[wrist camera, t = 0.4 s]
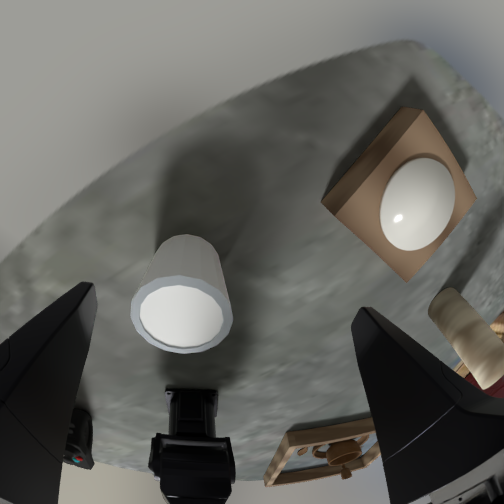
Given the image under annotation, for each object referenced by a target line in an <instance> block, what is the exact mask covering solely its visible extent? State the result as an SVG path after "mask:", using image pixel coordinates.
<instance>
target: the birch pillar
mask: <svg viewBox="0 0 504 504" xmlns="http://www.w3.org/2000/svg"><path fill="white" fill-rule="evenodd" d="M428 315H429V317H430V318H431V319H432V321H433V322H434V323H435V324H436V326H437V327H438V328H439V330H440V331H441V332H442V333H443V335H444V336H445V337H446V339H447V340H448V341H449V343H450V344H451V345H452V347H453V348H454V349H455V351H456V352H457V354H458V355H459V356H460V358H461V359H462V360H463V362H464V363H465V365H466V366H467V368H468V369H469V370H470V372H471V373H472V375H473V376H474V378H475V379H476V381H477V382H478V384H479V385H480V387H481V388H482V389H487V388H488V387H490V386H491V385H493V384H494V383H495V382H496V381H498V380H499V379H500V378H501V377H502V376H503V375H504V343H503V342H502V341H501V339H500V338H499V337H498V336H497V335H496V333H495V332H494V331H493V330H492V329H491V328H490V326H489V325H488V324H487V323H486V322H485V321H484V320H483V318H482V317H481V316H480V315H479V314H478V313H477V312H476V311H475V310H474V308H473V307H472V306H471V305H470V304H469V303H468V302H467V301H466V300H465V299H464V298H463V297H462V296H461V295H460V294H459V293H458V292H457V290H456V289H455V288H452V287H449V288H446V289H444V290H442V291H441V292H440V293H439V294H438V295H437V296H436V297H435V298H434V299H433V301H432V302H431V304H430V306H429V309H428Z"/></svg>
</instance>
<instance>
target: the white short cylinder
mask: <svg viewBox="0 0 504 504" xmlns="http://www.w3.org/2000/svg"><path fill="white" fill-rule="evenodd" d="M131 319H132V321H133V323H134V326H135V328H136V330H137V332H138V333H139V334H140V335H141V336H143V337H144V338H145V339H146V340H147V341H148V342H149V343H151V344H153V345H155V346H157V347H159V348H161V349H163V350H165V351H170V352H176V353H182V354H186V353H196V352H202V351H205V350H207V349H209V348H212V347H214V346H216V345H218V344H219V343H220V342H221V341H222V340H223V339H224V338H225V337H226V336H227V335H228V334H229V331H230V328H231V325H232V323H233V315H232V309H231V304H230V300H229V296H228V292H227V288H226V284H225V280H224V276H223V272H222V268H221V264H220V259H219V255H218V253H217V252H216V250H215V249H214V247H213V246H212V244H210V243H209V242H207V241H206V240H204V239H203V238H201V237H198V236H194V235H189V234H184V235H177V236H173V237H171V238H169V239H168V240H166V241H164V242H163V243H162V244H161V246H160V247H159V248H158V250H157V251H156V253H155V255H154V257H153V259H152V261H151V263H150V265H149V267H148V269H147V271H146V273H145V275H144V277H143V279H142V281H141V283H140V285H139V287H138V289H137V291H136V293H135V295H134V297H133V299H132V302H131Z"/></svg>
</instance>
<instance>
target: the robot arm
mask: <svg viewBox="0 0 504 504" xmlns="http://www.w3.org/2000/svg"><path fill="white" fill-rule="evenodd" d="M96 312H97V297H96V291H95V286H94V284H93V283H90V282H80V283H79V284H78V285H76V286H75V287H73V288H72V289H71V290H69V291H68V292H67V293H65V294H64V295H62V296H61V297H60V298H58V299H57V300H56V301H54V302H53V303H52V304H50V305H49V306H48V307H46V308H45V309H44V310H42V311H41V312H40V313H39V314H37V315H36V316H35V317H33V318H32V319H31V320H30V321H28V322H27V323H26V324H25V325H23V326H22V327H21V328H20V329H18V330H17V331H16V332H15V333H13V334H12V335H11V336H10V337H9V339H8V338H7V339H6V340H5V341H4V342H2V343H1V344H0V504H58V495H59V486H60V479H61V470H62V463H63V457H64V451H65V446H66V440H67V435H68V430H69V425H70V420H71V416H72V411H73V407H74V403H75V399H76V395H77V391H78V387H79V383H80V379H81V376H82V372H83V368H84V365H85V361H86V358H87V355H88V351H89V346H90V341H91V336H92V331H93V326H94V321H95V317H96ZM351 331H352V336H353V341H354V346H355V352H356V357H357V362H358V367H359V371H360V374H361V378H362V381H363V385H364V388H365V392H366V396H367V400H368V403H369V407H370V411H371V415H372V419H373V423H374V427H375V431H376V435H377V440H378V444H379V448H380V453H381V457H382V462H383V467H384V472H385V477H386V482H387V487H388V492H389V498H390V504H409V503H411V502H413V501H416V500H418V499H420V498H422V497H424V496H426V495H428V494H429V496H430V498H431V502H430V503H428V504H504V398H496V397H492V396H489V395H487V394H486V393H484V392H483V391H481V390H480V389H478V388H477V387H476V386H474V385H473V384H471V383H470V382H468V381H467V380H466V379H464V378H463V377H461V376H460V375H459V374H457V373H456V372H455V371H453V370H452V369H451V368H449V367H448V366H447V365H446V364H444V363H443V362H442V361H439V359H438V358H437V357H435V356H434V355H433V354H432V353H430V352H429V351H428V350H427V349H425V348H424V347H423V346H421V345H420V344H419V343H418V342H416V341H415V340H414V339H412V338H411V337H410V336H409V335H407V334H406V333H405V332H403V331H402V330H401V329H400V328H398V327H397V326H396V325H394V324H393V323H392V322H390V321H389V320H388V319H387V318H385V317H384V316H383V315H381V314H380V313H379V312H377V311H376V310H375V309H373V308H372V307H361V308H360V309H359V311H358V313H357V315H356V316H355V318H354V320H353V322H352V325H351ZM217 396H218V394H217V391H215V390H181V389H166V390H165V397H166V402H167V407H168V412H169V435H167V434H161V433H156V437H154V438H152V441H151V452H150V457H149V463H148V467H149V469H150V470H151V471H152V472H153V475H154V479H155V480H156V481H160V489H161V493H162V496H163V498H164V500H165V501H166V503H167V504H225V502H226V501H227V499H228V497H229V496H230V494H231V492H232V489H231V484H234V483H235V475H236V472H235V461H234V456H233V452H232V447H231V442H230V437H225V438H216V431H215V417H216V416H217Z"/></svg>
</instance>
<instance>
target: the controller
mask: <svg viewBox="0 0 504 504" xmlns="http://www.w3.org/2000/svg"><path fill="white" fill-rule="evenodd" d="M92 441H93V426H92V420H91V417H90V416H89V414H88V413H86V412H84V411H82V410H78V409H73V411H72V416H71V420H70V425H69V430H68V435H67V440H66V446H65V451H64V457H63V462H65V463H67V464H70V465H75V466H77V467H81V468H84V469H90V470H91V469H92V467H93V466H94V461H93V458H92V454H91V451H92Z"/></svg>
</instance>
